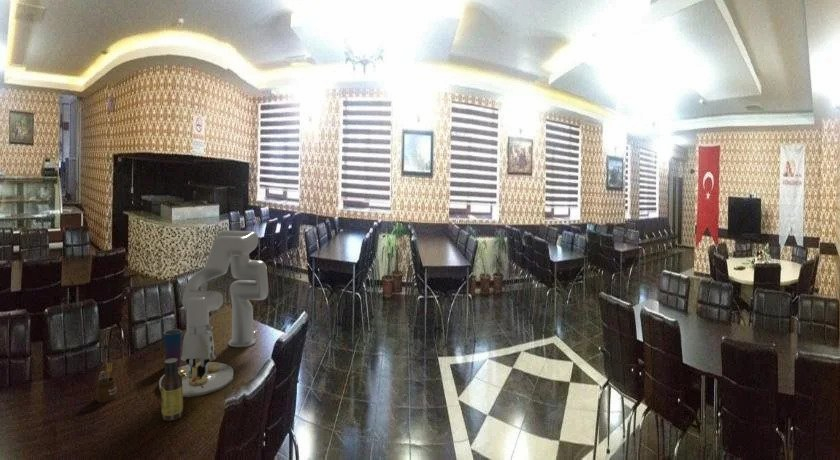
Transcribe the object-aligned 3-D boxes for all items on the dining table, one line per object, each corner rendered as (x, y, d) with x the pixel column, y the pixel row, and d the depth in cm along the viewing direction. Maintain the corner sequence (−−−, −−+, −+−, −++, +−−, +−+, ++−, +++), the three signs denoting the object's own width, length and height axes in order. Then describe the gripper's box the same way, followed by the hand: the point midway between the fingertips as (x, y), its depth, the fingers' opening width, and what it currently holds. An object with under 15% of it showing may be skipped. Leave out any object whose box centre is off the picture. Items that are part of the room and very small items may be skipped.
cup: (160, 366, 181) (159, 332, 180) (175, 361, 187) (175, 328, 186) (170, 370, 178) (169, 335, 177) (185, 365, 184) (185, 331, 183)
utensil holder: (93, 403, 150) (92, 370, 149) (101, 395, 156) (100, 363, 155) (112, 402, 151) (111, 369, 150) (119, 393, 157) (119, 362, 156)
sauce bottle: (167, 412, 146) (166, 355, 144) (186, 411, 147) (185, 355, 145) (157, 422, 140) (156, 363, 138) (177, 422, 141) (177, 363, 139)
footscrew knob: (194, 378, 167) (194, 360, 166) (210, 378, 167) (210, 361, 166) (184, 386, 159) (183, 368, 159) (201, 387, 159) (201, 369, 159)
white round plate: (195, 364, 186) (195, 354, 185) (247, 373, 179) (247, 363, 178) (142, 390, 161) (142, 379, 160) (199, 402, 154) (199, 390, 153)
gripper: (223, 325, 166) (223, 371, 168) (180, 325, 164) (181, 371, 166) (215, 332, 158) (216, 380, 160) (170, 331, 157) (171, 379, 159)
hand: (198, 375), depth 163 cm, fingers closed on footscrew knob, 2 cm apart
